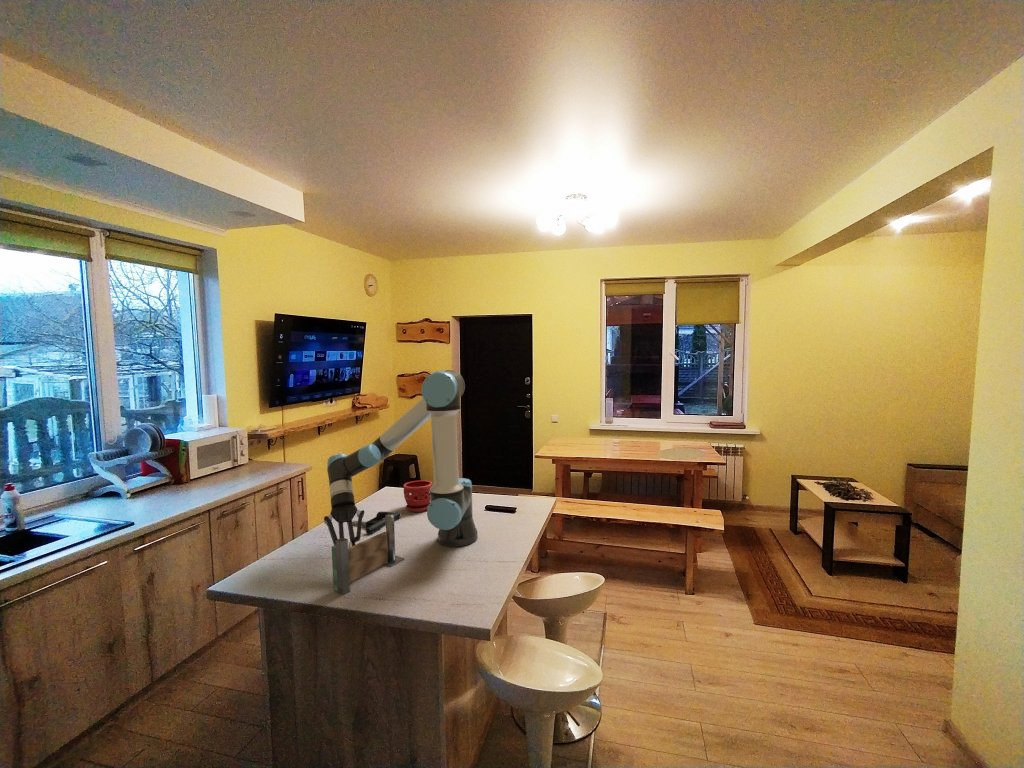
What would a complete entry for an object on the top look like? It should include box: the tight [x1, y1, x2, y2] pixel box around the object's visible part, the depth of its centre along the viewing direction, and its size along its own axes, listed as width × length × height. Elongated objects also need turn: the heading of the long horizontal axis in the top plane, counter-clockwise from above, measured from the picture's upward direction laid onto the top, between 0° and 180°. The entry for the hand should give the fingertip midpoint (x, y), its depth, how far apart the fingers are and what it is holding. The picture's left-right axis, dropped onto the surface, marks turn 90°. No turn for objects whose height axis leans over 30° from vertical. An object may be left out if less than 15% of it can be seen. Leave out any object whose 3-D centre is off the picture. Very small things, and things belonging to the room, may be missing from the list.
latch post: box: [336, 537, 351, 596], centre depth 128 cm, size 2×2×16 cm
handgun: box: [352, 511, 401, 535], centre depth 182 cm, size 3×20×16 cm
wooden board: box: [331, 531, 388, 592], centre depth 137 cm, size 20×2×13 cm, turn 149°
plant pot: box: [403, 479, 434, 513], centre depth 199 cm, size 13×13×12 cm
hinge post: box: [382, 514, 405, 568], centre depth 147 cm, size 6×6×16 cm
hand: (349, 564), depth 136 cm, fingers closed
